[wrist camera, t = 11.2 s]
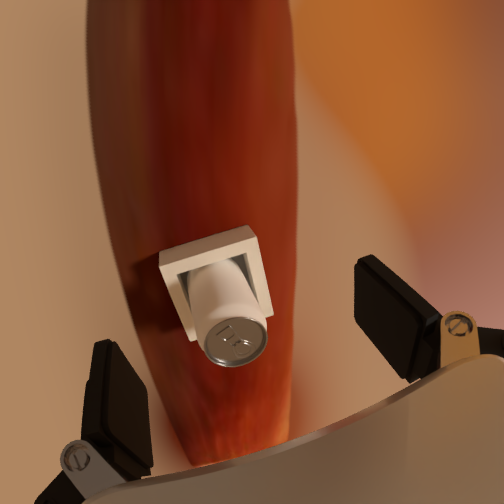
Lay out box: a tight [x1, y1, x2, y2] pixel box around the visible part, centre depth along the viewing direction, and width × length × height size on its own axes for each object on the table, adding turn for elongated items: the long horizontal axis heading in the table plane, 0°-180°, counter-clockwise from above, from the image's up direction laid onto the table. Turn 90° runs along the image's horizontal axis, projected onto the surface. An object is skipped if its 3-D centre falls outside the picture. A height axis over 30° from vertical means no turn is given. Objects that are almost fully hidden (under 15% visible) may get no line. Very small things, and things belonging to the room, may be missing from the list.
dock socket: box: [159, 225, 274, 341], centre depth 36 cm, size 10×10×4 cm
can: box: [187, 258, 268, 367], centre depth 31 cm, size 6×6×12 cm
